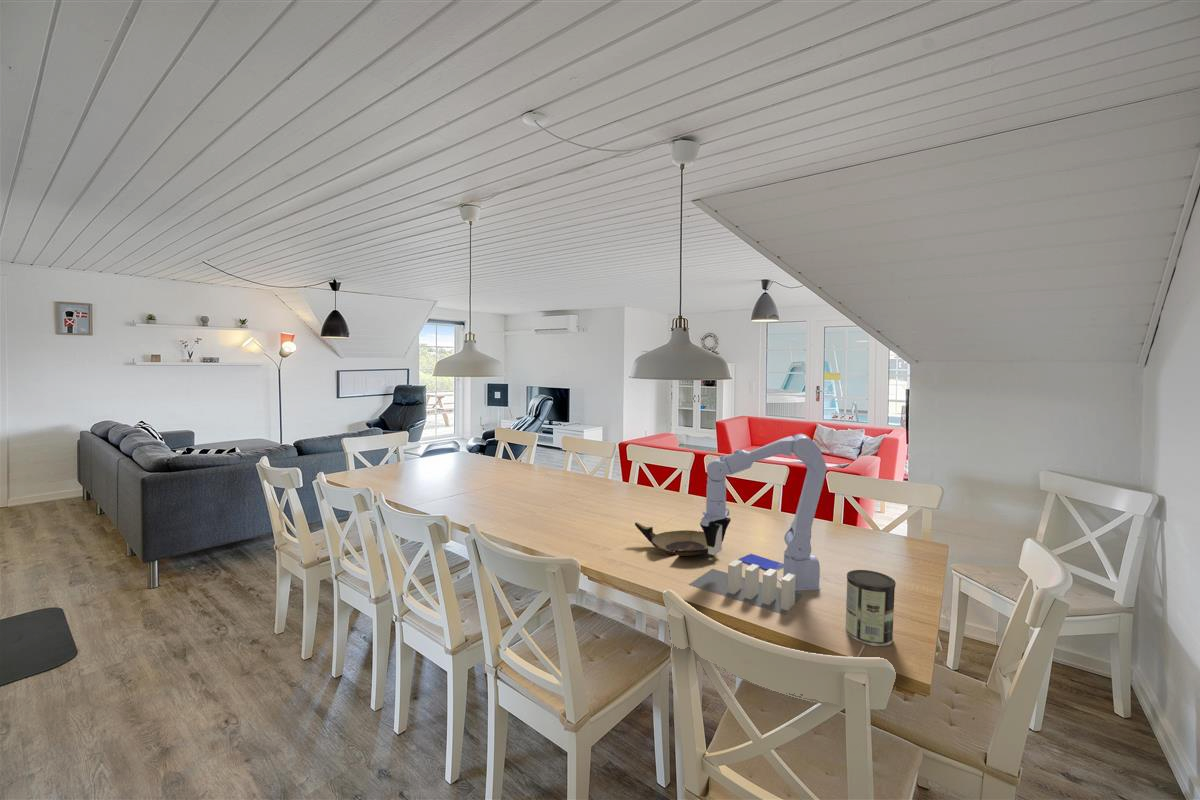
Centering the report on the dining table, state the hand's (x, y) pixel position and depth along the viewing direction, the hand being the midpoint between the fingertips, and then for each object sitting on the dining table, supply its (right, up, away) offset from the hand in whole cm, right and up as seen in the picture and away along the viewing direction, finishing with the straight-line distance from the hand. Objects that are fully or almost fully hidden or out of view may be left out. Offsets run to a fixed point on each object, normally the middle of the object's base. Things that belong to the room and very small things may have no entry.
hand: (715, 543), depth 155 cm
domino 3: (+7, -11, -12) cm, 18 cm away
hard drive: (+17, -11, +11) cm, 23 cm away
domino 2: (+4, -11, -9) cm, 15 cm away
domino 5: (+15, -12, -19) cm, 27 cm away
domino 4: (+11, -11, -16) cm, 22 cm away
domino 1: (0, -3, 0) cm, 3 cm away
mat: (+7, -11, -9) cm, 15 cm away
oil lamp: (-7, -9, +23) cm, 26 cm away
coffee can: (+30, -13, -32) cm, 45 cm away
